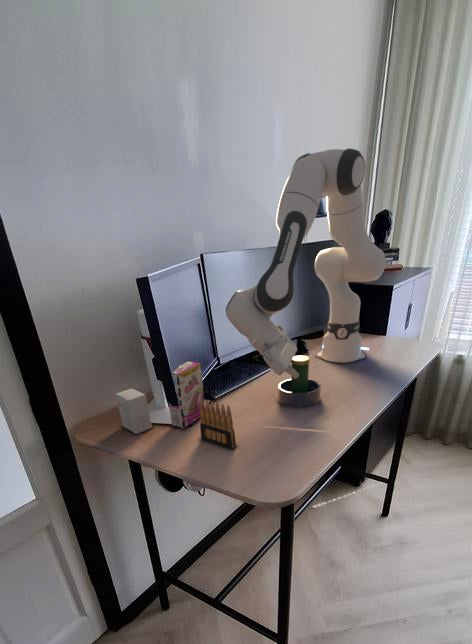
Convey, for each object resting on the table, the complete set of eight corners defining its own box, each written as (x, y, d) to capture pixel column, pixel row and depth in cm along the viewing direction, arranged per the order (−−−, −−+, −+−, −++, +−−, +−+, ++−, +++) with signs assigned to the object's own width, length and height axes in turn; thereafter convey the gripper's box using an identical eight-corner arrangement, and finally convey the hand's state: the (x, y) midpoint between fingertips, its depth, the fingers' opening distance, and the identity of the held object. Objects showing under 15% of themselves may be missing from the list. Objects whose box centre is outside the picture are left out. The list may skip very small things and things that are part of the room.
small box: (152, 428, 118) (146, 394, 113) (136, 434, 115) (128, 400, 110) (138, 420, 124) (131, 387, 118) (122, 426, 121) (114, 393, 115)
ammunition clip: (201, 439, 111) (196, 398, 104) (205, 437, 112) (200, 396, 105) (231, 449, 105) (228, 407, 99) (236, 446, 106) (233, 404, 100)
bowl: (282, 391, 136) (282, 377, 134) (321, 393, 133) (322, 379, 130) (274, 407, 126) (274, 392, 123) (317, 410, 123) (318, 394, 120)
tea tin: (292, 391, 132) (293, 355, 125) (308, 392, 130) (310, 355, 123) (289, 398, 127) (290, 360, 121) (306, 399, 126) (308, 361, 119)
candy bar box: (185, 429, 116) (177, 374, 107) (171, 426, 119) (163, 372, 110) (207, 414, 124) (201, 362, 115) (194, 412, 126) (187, 360, 117)
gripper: (267, 342, 112) (302, 378, 115) (281, 324, 128) (311, 355, 131) (253, 358, 115) (286, 392, 118) (268, 338, 131) (297, 368, 134)
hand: (299, 372), depth 125 cm, fingers closed on tea tin, 5 cm apart
